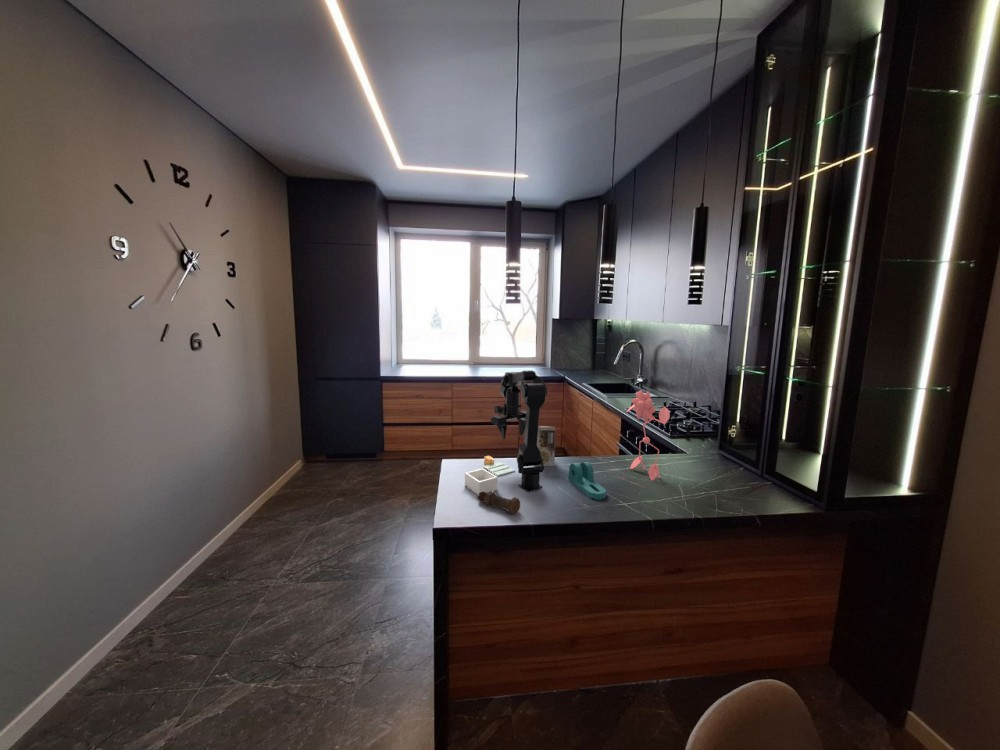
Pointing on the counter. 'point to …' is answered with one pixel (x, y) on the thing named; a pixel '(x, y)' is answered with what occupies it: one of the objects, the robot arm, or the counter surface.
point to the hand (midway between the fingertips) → (512, 437)
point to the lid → (496, 466)
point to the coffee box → (546, 444)
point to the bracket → (586, 480)
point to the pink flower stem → (645, 410)
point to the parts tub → (481, 481)
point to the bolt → (500, 502)
